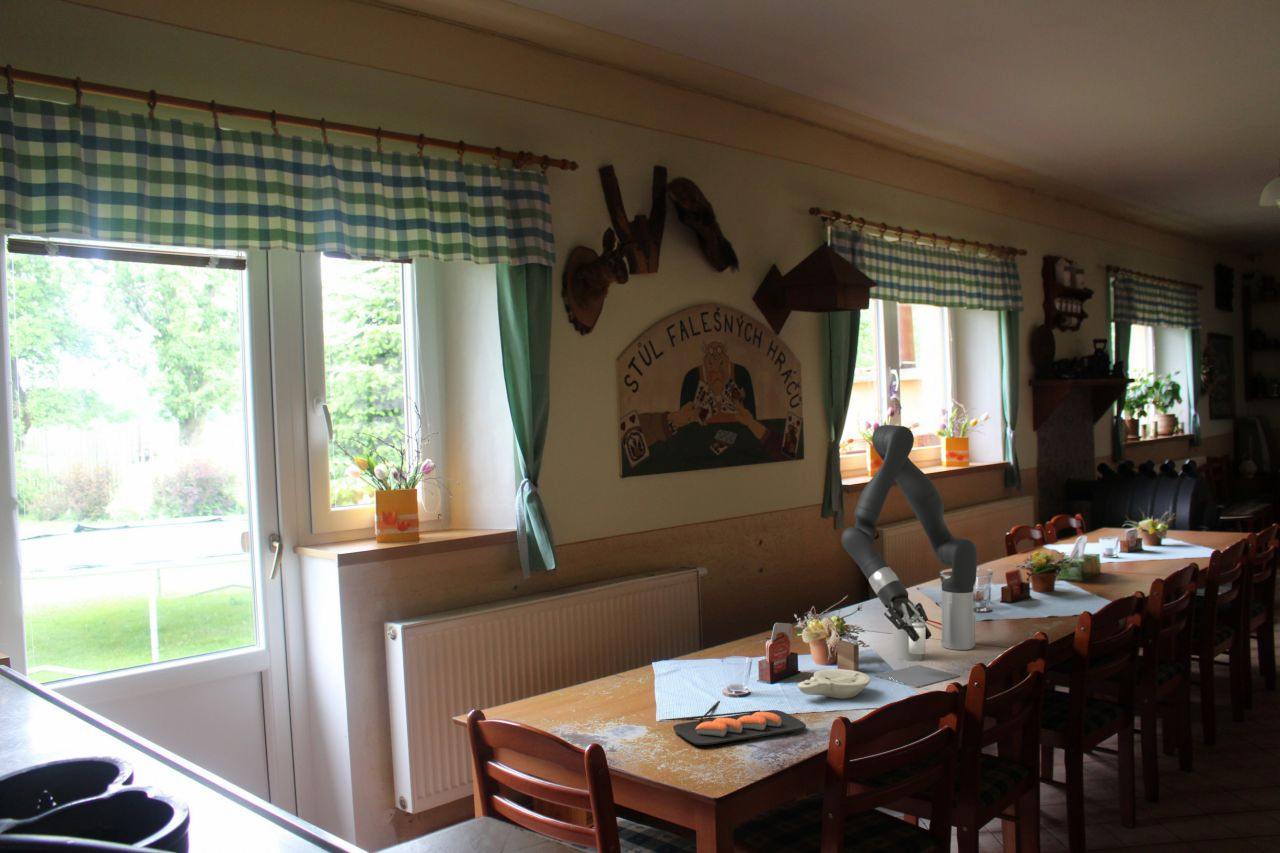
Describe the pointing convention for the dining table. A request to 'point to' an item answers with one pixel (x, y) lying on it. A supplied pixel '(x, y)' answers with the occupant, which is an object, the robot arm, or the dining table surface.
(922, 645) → the sugar shaker
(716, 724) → the sushi plate
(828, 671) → the oil lamp
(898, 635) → the cup
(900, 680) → the felt mat
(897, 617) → the robot arm
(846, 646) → the brown flat rectangular block
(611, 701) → the dining table surface
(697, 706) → the dining table surface
